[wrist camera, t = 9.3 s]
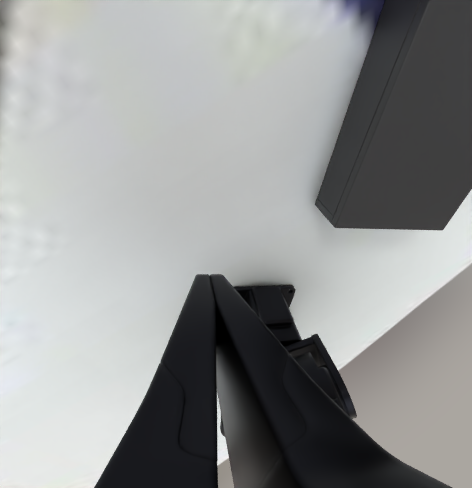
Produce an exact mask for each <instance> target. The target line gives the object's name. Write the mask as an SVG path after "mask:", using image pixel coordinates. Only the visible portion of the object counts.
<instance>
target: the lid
mask: <svg viewBox="0 0 472 488" xmlns="http://www.w3.org/2000/svg"><path fill="white" fill-rule="evenodd" d="M471 189H472V0H385V3H384V6H383V9H382V12H381V15H380V18H379V21H378V23H377V26H376V29H375V32H374V35H373V38H372V41H371V44H370V47H369V49H368V52H367V55H366V58H365V61H364V64H363V67H362V70H361V73H360V75H359V78H358V81H357V84H356V87H355V90H354V93H353V96H352V99H351V101H350V104H349V107H348V110H347V113H346V116H345V119H344V122H343V125H342V127H341V130H340V133H339V136H338V139H337V142H336V145H335V148H334V151H333V154H332V156H331V159H330V162H329V165H328V168H327V171H326V174H325V177H324V180H323V182H322V185H321V188H320V191H319V194H318V197H317V200H316V203H315V205H316V206H317V208H318V209H319V210H320V211H321V212H322V213H323V215H324V216H325V217H326V218H327V219H328V220H329V222H330V223H331V224H332V225H333V226H334V227H335V228H363V229H408V230H443V229H444V228H445V226H446V225H447V224H448V222H449V221H450V219H451V218H452V216H453V215H454V213H455V212H456V211H457V209H458V208H459V206H460V205H461V203H462V202H463V200H464V199H465V198H466V196H467V195H468V193H469V192H470V190H471Z"/></svg>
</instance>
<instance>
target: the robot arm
mask: <svg viewBox="0 0 472 488" xmlns="http://www.w3.org/2000/svg"><path fill="white" fill-rule="evenodd" d="M294 293H295V288H294V286H292V285H279V286H248V287H233V286H232V285H231V284H230V283H229V282H228V280H227V279H226V278H225V277H224V276H223V275H221V274H212V275H210V276H209V275H208V274H197V275H196V277H195V279H194V281H193V284H192V286H191V289H190V291H189V294H188V296H187V298H186V301H185V303H184V306H183V308H182V311H181V313H180V315H179V318H178V320H177V323H176V325H175V328H174V330H173V332H172V335H171V337H170V340H169V342H168V345H167V347H166V349H165V352H164V354H163V357H162V359H161V363H160V364H159V366H158V368H157V371H156V373H155V376H154V378H153V380H152V382H151V384H150V387H149V389H148V391H147V393H146V395H145V398H144V399H143V401H142V403H141V405H140V407H139V409H138V411H137V413H136V415H135V417H134V419H133V420H132V422H131V424H130V426H129V427H128V429H127V431H126V433H125V435H124V436H123V438H122V440H121V442H120V443H119V445H118V447H117V449H116V450H115V452H114V454H113V456H112V457H111V459H110V461H109V463H108V465H107V466H106V468H105V470H104V472H103V473H102V475H101V477H100V479H99V480H98V482H97V484H96V485H95V487H94V488H218V473H217V393H218V398H219V404H220V409H221V425H220V429H221V433H222V435H223V436H225V437H226V443H227V449H228V454H229V460H230V465H231V471H232V476H233V482H234V488H452V487H450V486H447V485H446V484H444V483H442V482H440V481H438V480H436V479H434V478H432V477H430V476H428V475H426V474H424V473H423V472H421V471H418V470H417V469H414V468H413V467H411V466H409V465H407V464H405V463H403V462H402V461H400V460H399V459H397V458H395V457H394V456H392V455H391V454H390V453H388V452H387V451H386V450H384V449H383V448H382V447H381V446H380V445H378V444H377V443H376V442H375V441H374V440H373V439H372V438H371V437H370V436H368V434H366V432H365V431H363V430H362V429H361V428H360V427H359V426H358V425H357V424H356V423H355V422H354V421H353V420H352V419H353V418H356V417H357V415H356V411H355V408H354V405H353V403H352V400H351V398H350V395H349V393H348V391H347V388H346V386H345V384H344V382H343V380H342V378H341V376H340V374H339V372H338V370H337V368H336V366H335V365H334V363H333V361H332V359H331V357H330V356H329V354H328V352H327V350H326V348H325V347H324V345H323V343H322V341H321V339H320V338H319V336H318V334H315V335H312V336H311V337H310V338H307V339H304V340H302V339H301V337H300V335H299V332H298V330H297V328H296V325H295V323H294V319H293V317H292V315H291V312H290V310H289V307H290V304H291V301H292V299H293V296H294Z"/></svg>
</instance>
